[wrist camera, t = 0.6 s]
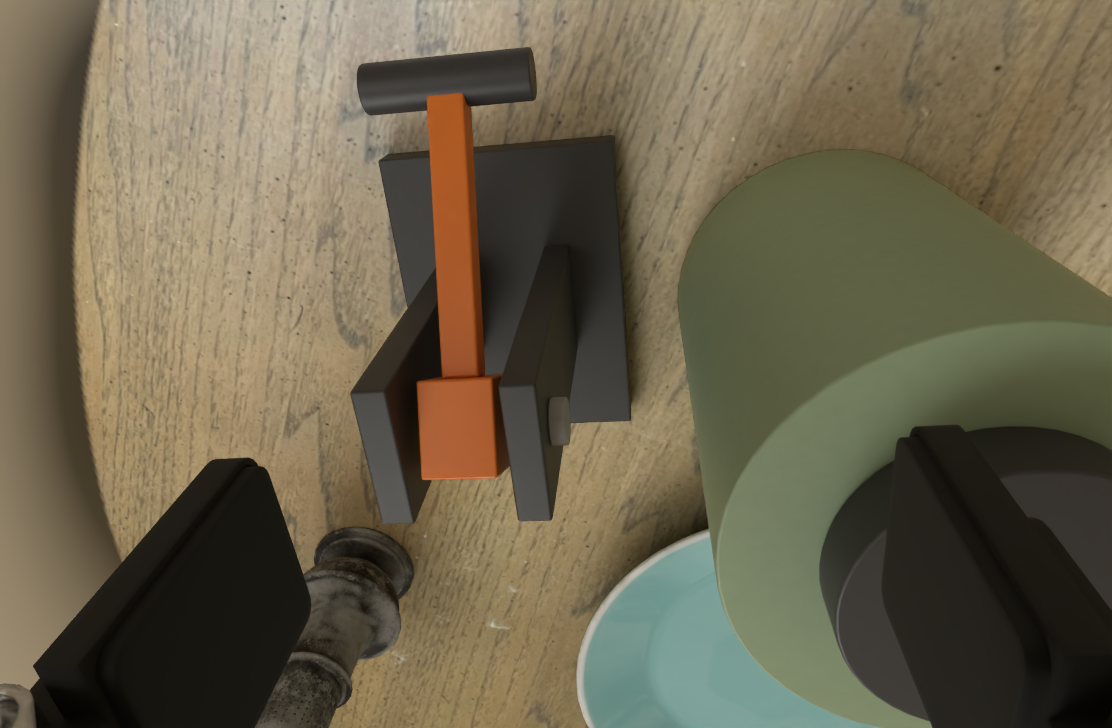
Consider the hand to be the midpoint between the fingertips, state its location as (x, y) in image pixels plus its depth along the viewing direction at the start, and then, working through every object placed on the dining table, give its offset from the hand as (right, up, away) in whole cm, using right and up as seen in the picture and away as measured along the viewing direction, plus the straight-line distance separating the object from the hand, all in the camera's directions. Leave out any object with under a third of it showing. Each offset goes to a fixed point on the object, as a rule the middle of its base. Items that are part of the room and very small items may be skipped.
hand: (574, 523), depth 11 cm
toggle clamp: (-2, +6, +21) cm, 22 cm away
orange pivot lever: (-3, +5, +12) cm, 14 cm away
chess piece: (-10, -8, +29) cm, 32 cm away
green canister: (+11, +5, +20) cm, 23 cm away
